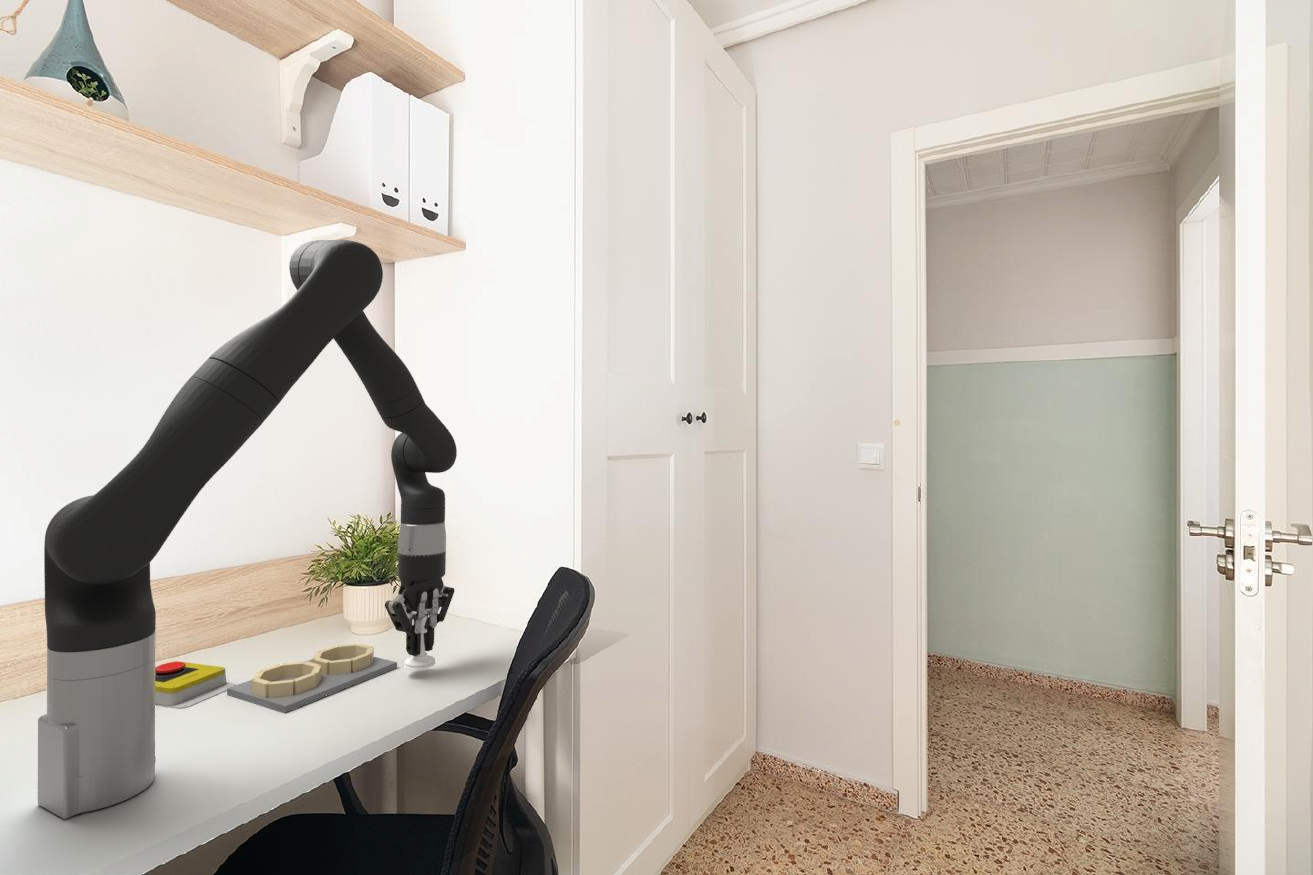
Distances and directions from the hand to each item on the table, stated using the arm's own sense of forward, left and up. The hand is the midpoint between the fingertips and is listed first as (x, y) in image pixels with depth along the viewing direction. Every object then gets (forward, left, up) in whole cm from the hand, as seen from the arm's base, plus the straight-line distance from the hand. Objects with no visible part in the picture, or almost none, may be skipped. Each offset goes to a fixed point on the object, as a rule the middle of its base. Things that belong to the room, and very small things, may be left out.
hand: (420, 651), depth 107 cm
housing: (-10, +13, -4) cm, 16 cm away
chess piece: (0, 0, -2) cm, 2 cm away
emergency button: (-23, +28, -5) cm, 36 cm away
